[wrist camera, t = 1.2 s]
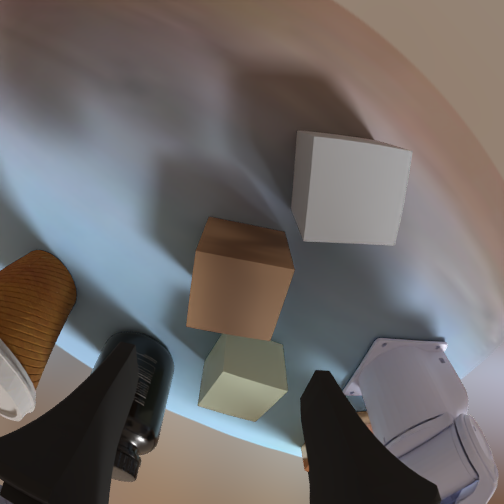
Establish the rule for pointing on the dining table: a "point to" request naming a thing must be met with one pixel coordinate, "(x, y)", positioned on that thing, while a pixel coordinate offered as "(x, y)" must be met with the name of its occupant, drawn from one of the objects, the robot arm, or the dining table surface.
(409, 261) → the dining table surface
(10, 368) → the disposable coffee cup
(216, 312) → the walnut block
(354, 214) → the light grey block
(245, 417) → the sage-green block
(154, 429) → the supplement bottle
